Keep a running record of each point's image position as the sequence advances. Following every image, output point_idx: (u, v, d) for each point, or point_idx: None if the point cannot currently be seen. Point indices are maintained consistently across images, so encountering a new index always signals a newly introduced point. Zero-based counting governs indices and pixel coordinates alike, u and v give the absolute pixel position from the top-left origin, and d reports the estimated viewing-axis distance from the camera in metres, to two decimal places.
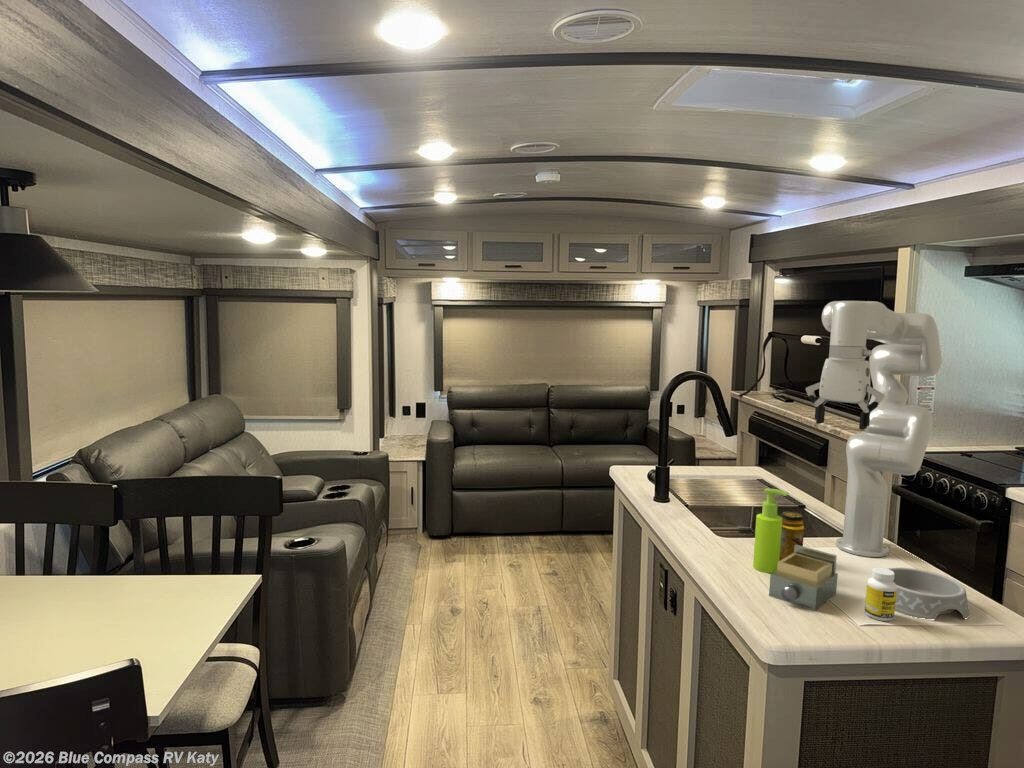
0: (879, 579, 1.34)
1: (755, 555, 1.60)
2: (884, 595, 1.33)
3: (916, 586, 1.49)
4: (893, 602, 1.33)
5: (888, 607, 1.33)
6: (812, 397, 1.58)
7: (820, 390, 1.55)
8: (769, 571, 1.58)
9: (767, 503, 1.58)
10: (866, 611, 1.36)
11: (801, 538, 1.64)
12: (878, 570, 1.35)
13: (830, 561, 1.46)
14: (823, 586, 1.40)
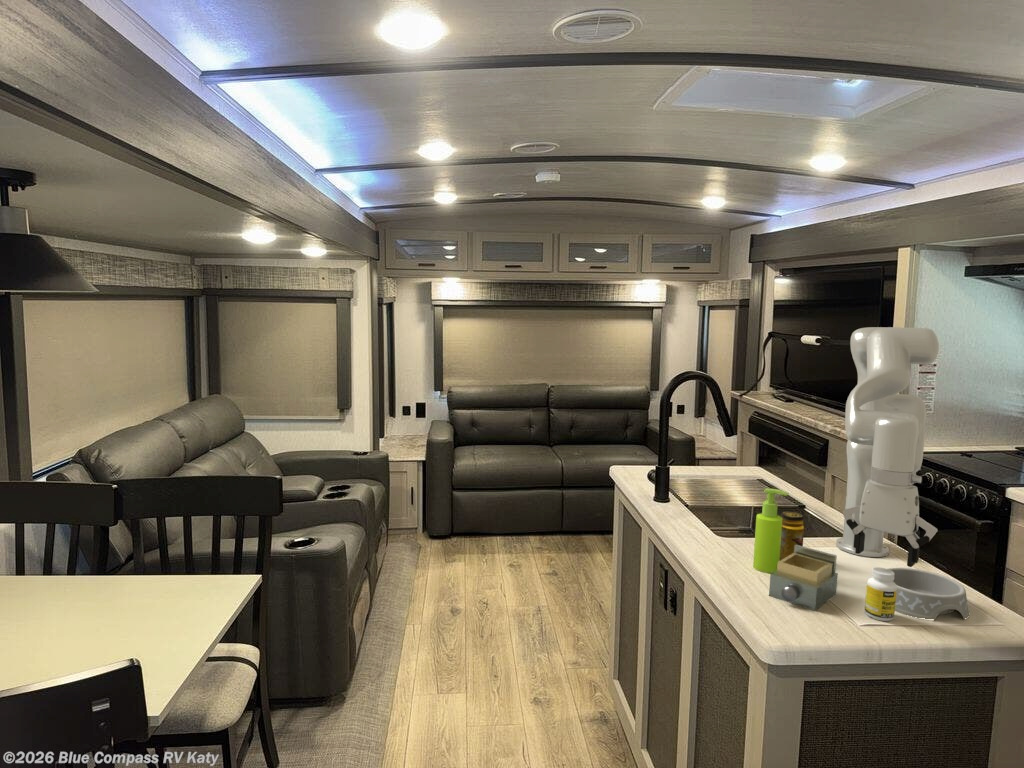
0: (879, 579, 1.34)
1: (755, 555, 1.60)
2: (884, 595, 1.33)
3: (916, 586, 1.49)
4: (893, 602, 1.33)
5: (888, 607, 1.33)
6: (850, 522, 1.38)
7: (860, 516, 1.35)
8: (769, 571, 1.58)
9: (767, 503, 1.58)
10: (866, 611, 1.36)
11: (801, 538, 1.64)
12: (878, 570, 1.35)
13: (830, 561, 1.46)
14: (823, 586, 1.40)
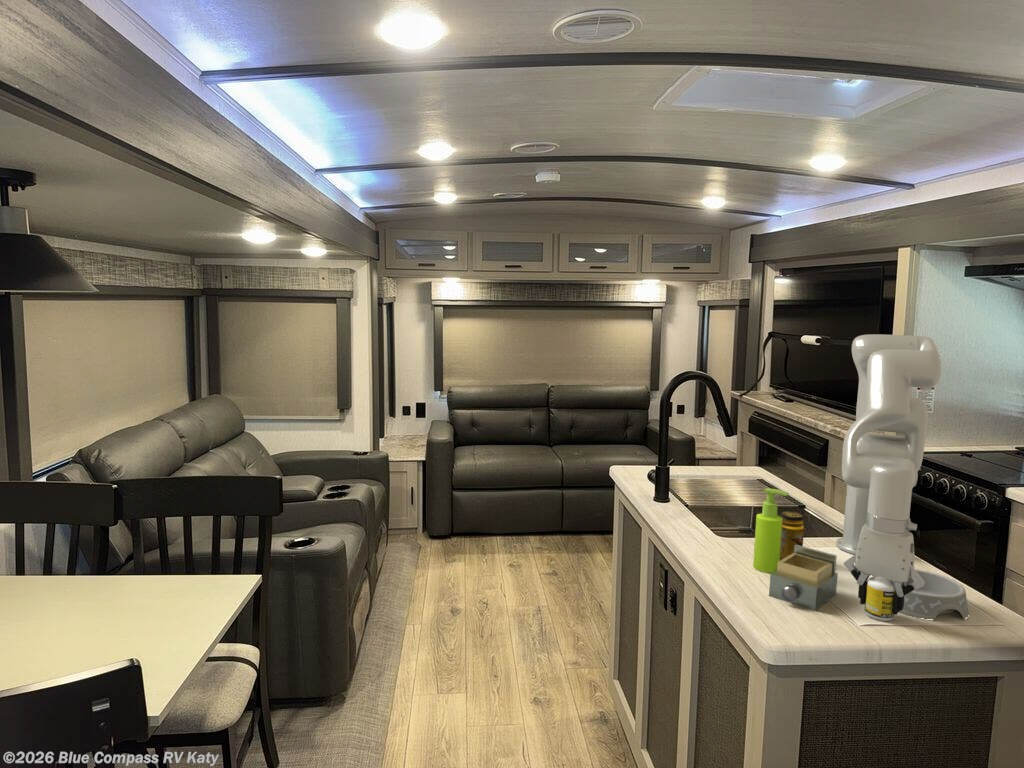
0: (879, 579, 1.34)
1: (755, 555, 1.60)
2: (883, 595, 1.33)
3: None
4: None
5: (888, 606, 1.33)
6: (855, 573, 1.38)
7: (856, 561, 1.37)
8: (769, 571, 1.58)
9: (767, 503, 1.58)
10: (866, 611, 1.36)
11: (801, 538, 1.64)
12: None
13: (830, 561, 1.46)
14: (823, 586, 1.40)
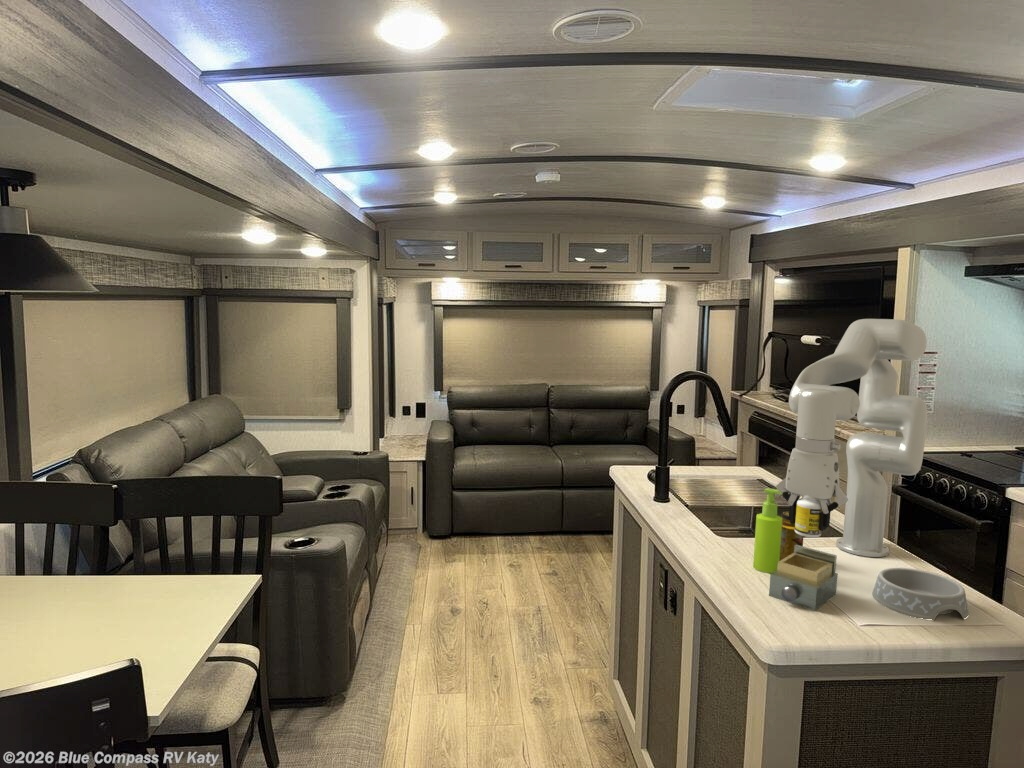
0: (806, 498, 1.42)
1: (755, 555, 1.60)
2: (810, 513, 1.41)
3: (915, 586, 1.49)
4: None
5: (815, 523, 1.41)
6: (786, 494, 1.46)
7: (786, 482, 1.45)
8: (769, 571, 1.58)
9: (767, 503, 1.58)
10: (795, 529, 1.44)
11: (801, 538, 1.64)
12: None
13: (830, 561, 1.46)
14: (823, 586, 1.40)
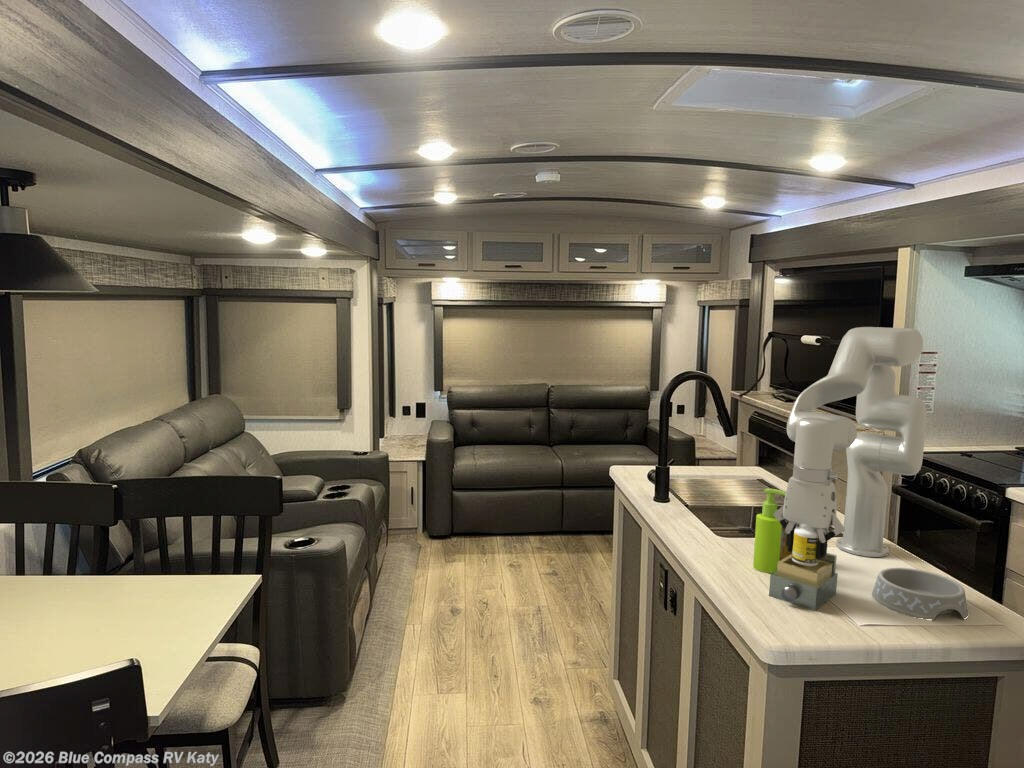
0: (803, 527, 1.42)
1: (755, 555, 1.60)
2: (807, 541, 1.41)
3: (915, 586, 1.49)
4: None
5: (812, 552, 1.41)
6: (783, 522, 1.47)
7: (784, 511, 1.45)
8: (769, 571, 1.58)
9: (767, 503, 1.58)
10: (793, 558, 1.44)
11: None
12: None
13: (830, 561, 1.46)
14: (823, 586, 1.40)
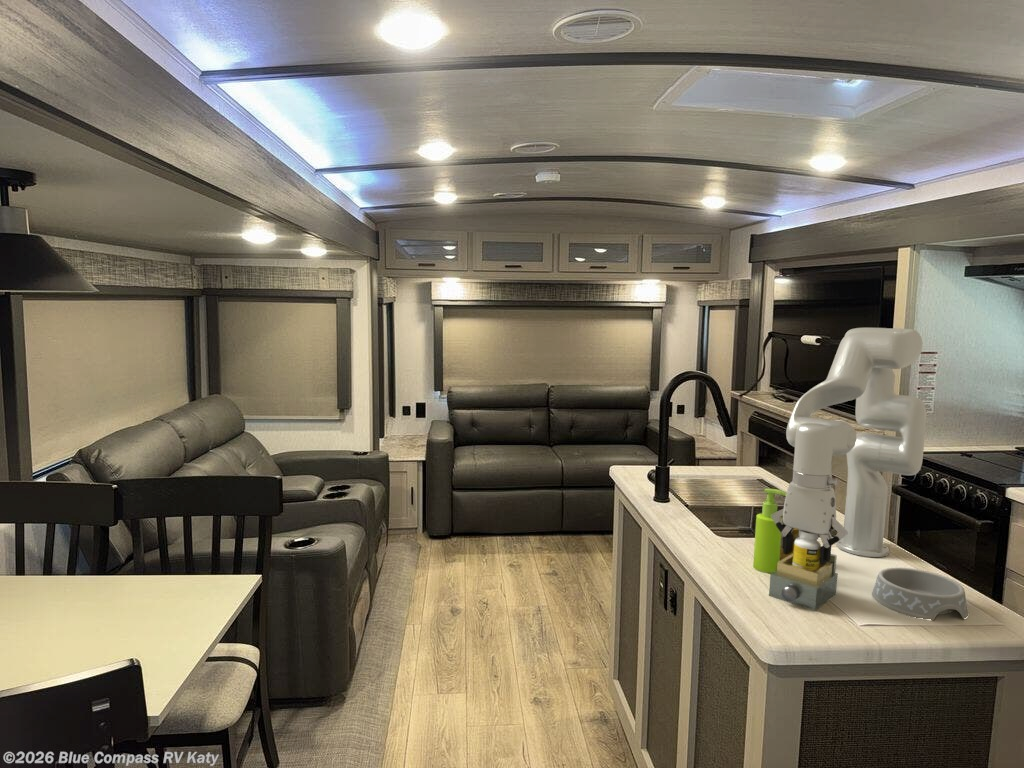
0: (803, 538, 1.43)
1: (755, 555, 1.60)
2: (807, 553, 1.42)
3: (915, 586, 1.49)
4: (816, 560, 1.42)
5: (812, 564, 1.42)
6: (779, 525, 1.47)
7: (783, 516, 1.45)
8: (769, 571, 1.58)
9: (767, 503, 1.58)
10: None
11: None
12: None
13: (830, 561, 1.46)
14: (823, 586, 1.40)
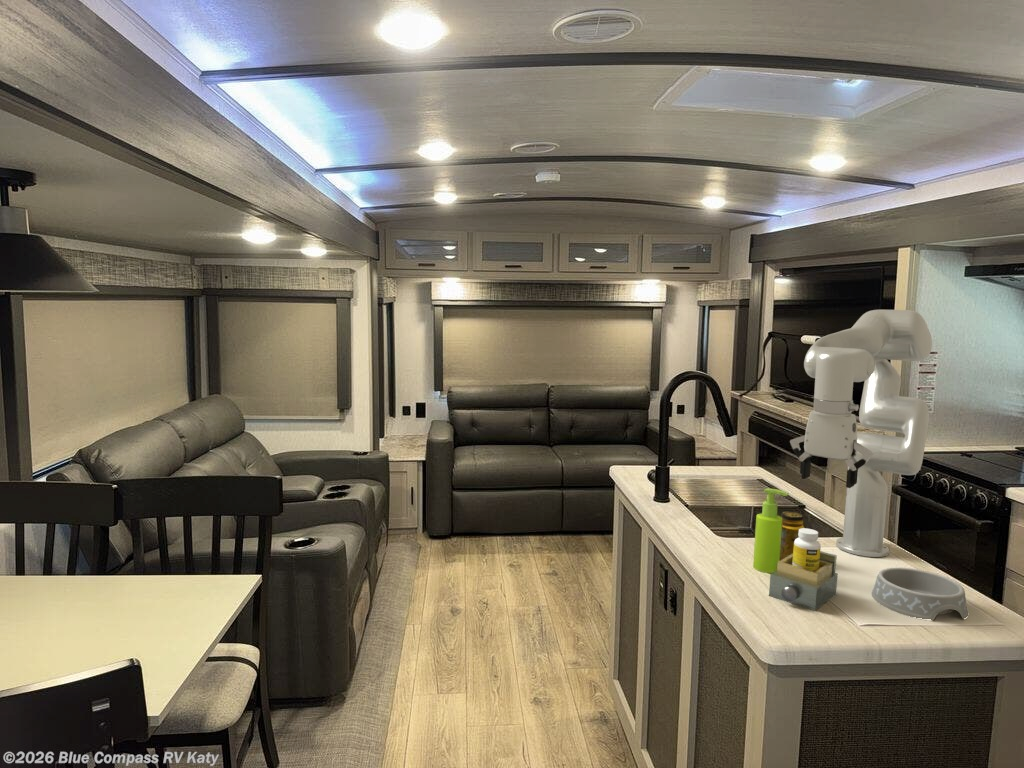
0: (803, 538, 1.43)
1: (755, 555, 1.60)
2: (807, 553, 1.42)
3: (915, 586, 1.49)
4: (816, 560, 1.42)
5: (811, 564, 1.42)
6: (797, 450, 1.49)
7: (805, 444, 1.47)
8: (769, 571, 1.58)
9: (767, 503, 1.58)
10: None
11: None
12: (803, 530, 1.44)
13: (830, 561, 1.46)
14: (823, 586, 1.40)
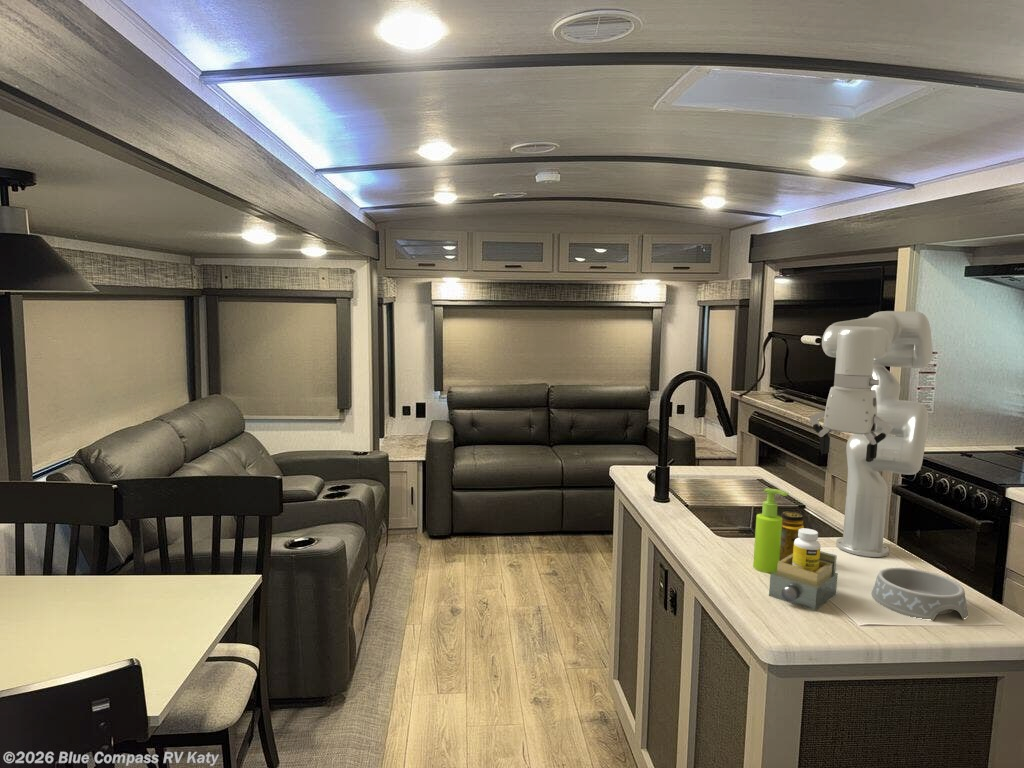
0: (803, 538, 1.43)
1: (755, 555, 1.60)
2: (807, 553, 1.42)
3: (915, 586, 1.49)
4: (816, 560, 1.42)
5: (811, 564, 1.42)
6: (816, 426, 1.52)
7: (825, 420, 1.49)
8: (769, 571, 1.58)
9: (767, 503, 1.58)
10: None
11: None
12: (803, 530, 1.44)
13: (830, 561, 1.46)
14: (823, 586, 1.40)
